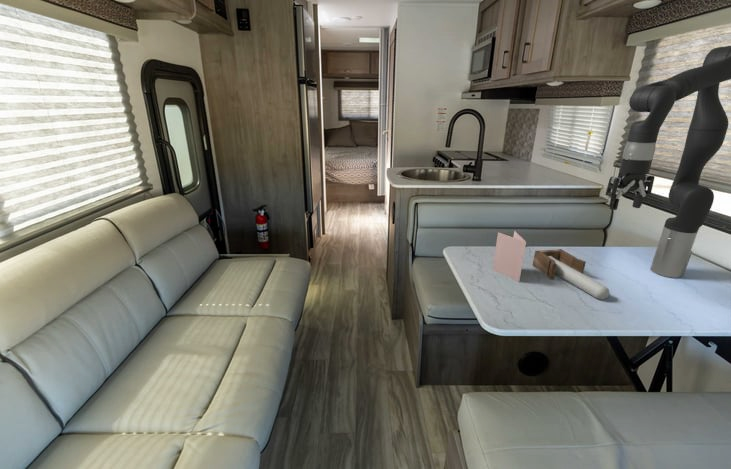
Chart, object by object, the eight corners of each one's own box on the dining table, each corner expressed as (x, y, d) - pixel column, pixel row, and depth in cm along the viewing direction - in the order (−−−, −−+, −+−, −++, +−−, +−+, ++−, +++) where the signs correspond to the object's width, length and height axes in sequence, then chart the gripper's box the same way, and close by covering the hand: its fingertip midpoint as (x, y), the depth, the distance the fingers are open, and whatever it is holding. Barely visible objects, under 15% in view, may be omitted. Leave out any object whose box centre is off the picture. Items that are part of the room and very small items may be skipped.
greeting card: (521, 282, 124) (529, 242, 119) (500, 281, 125) (506, 241, 119) (510, 267, 135) (516, 230, 130) (490, 267, 135) (496, 230, 130)
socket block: (560, 263, 139) (563, 248, 137) (583, 277, 128) (586, 262, 126) (530, 265, 137) (532, 251, 135) (550, 280, 126) (553, 264, 124)
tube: (616, 289, 113) (555, 257, 135) (605, 286, 111) (545, 254, 133) (607, 304, 114) (549, 269, 136) (596, 301, 112) (539, 267, 134)
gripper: (646, 154, 113) (633, 204, 118) (607, 156, 110) (595, 206, 116) (669, 158, 106) (654, 210, 112) (627, 160, 104) (614, 213, 109)
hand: (624, 208), depth 114 cm, fingers open, 8 cm apart
